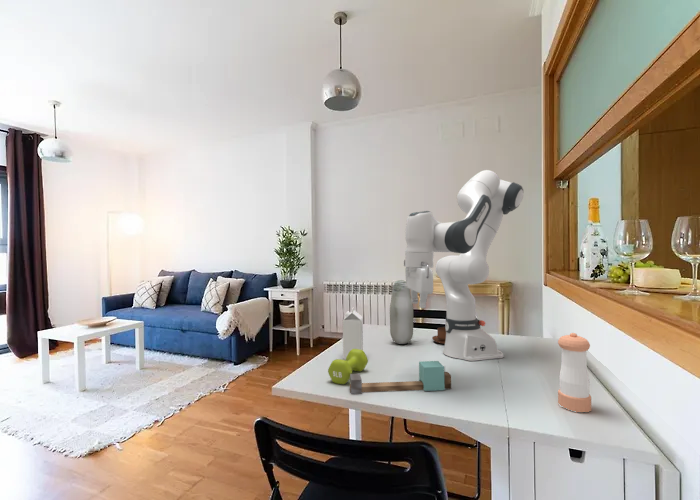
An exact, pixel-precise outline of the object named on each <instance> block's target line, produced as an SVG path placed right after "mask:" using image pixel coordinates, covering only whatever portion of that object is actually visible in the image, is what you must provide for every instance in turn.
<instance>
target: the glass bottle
mask: <svg viewBox="0 0 700 500" xmlns="http://www.w3.org/2000/svg"><path fill="white" fill-rule="evenodd" d="M389 304H390V305H389V332H390V333H389V334H390V336H391V339H392V340H393V342H394V343H395V344H398V345H405V344H408V343H410V341H412V339H413V336H414V306H413V303H412V297H411V289H409V288H407V285H406V280H402V279H401V280H397V281H395V282H394V283H393V284H392V291H391V299H390V303H389Z"/></svg>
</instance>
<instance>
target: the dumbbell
mask: <svg viewBox="0 0 700 500" xmlns="http://www.w3.org/2000/svg"><path fill="white" fill-rule="evenodd" d="M368 363H369V359H368V357H367V355H366V353H365V351H364V349H363V350H360V349H352V350H351V351H350V352H349V353H348V355H347V357H346V360H344V359H339V358H338V359H337V358H336V359H334V360H332V361H331V363H330V365H329V367H328V368H327V373H328V376H329V378H330V379H331V381H332V382H333V383H334V384H338V385H346V384H347V383H348V382H349V381H350V374H353V372H359V373H360V372H362V371H364V370H365V369H366V366H367V365H368Z"/></svg>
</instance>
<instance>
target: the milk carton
mask: <svg viewBox="0 0 700 500" xmlns="http://www.w3.org/2000/svg"><path fill="white" fill-rule="evenodd" d="M363 320H364V319H363V316H362V315H361V314H360V313H358V312H357V310H355V307H354V306H353V307H352V309H351V311H349V310H348V311H346V312H345V313H344V318H343V320H342V356H343V357H342V358H343V359H342V360H346V357H347V355H348V353H349V352H350V351H351V350H352V349H360V350H363V351H364V339H363V338H364V336H363V335H364V334H363V333H364V330H363V329H364V327H363V325H364V323H363V322H364V321H363Z"/></svg>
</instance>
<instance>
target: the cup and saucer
mask: <svg viewBox="0 0 700 500" xmlns="http://www.w3.org/2000/svg"><path fill="white" fill-rule="evenodd" d="M436 330H437V334H436V335H433V336H432V340H433V341H434V342H435V343H437V344H440V345H445V340H446V329H445V326H441V327H438V328H437V329H436Z"/></svg>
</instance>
